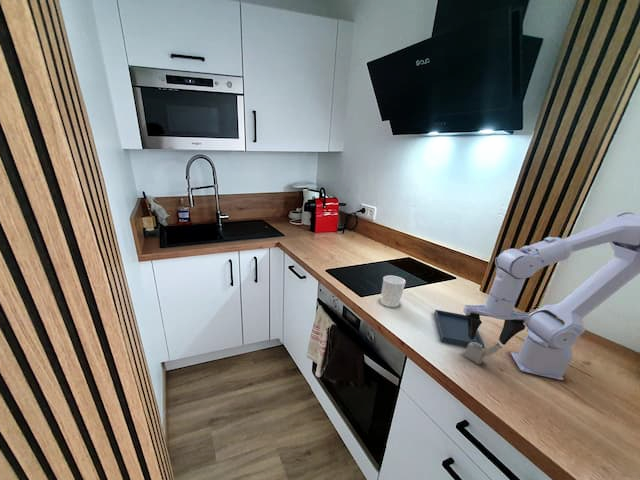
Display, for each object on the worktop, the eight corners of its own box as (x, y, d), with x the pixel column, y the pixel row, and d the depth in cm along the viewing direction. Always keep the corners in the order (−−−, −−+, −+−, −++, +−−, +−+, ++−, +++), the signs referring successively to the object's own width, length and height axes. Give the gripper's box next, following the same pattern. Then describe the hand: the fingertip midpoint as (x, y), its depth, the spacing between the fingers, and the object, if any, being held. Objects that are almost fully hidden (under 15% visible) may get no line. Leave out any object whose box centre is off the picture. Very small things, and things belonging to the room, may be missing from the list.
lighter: (463, 355, 83) (472, 333, 80) (467, 353, 84) (475, 331, 81) (490, 371, 77) (500, 347, 74) (493, 369, 78) (503, 345, 75)
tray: (468, 320, 100) (470, 316, 99) (482, 350, 85) (484, 345, 84) (433, 314, 104) (435, 309, 103) (441, 341, 89) (442, 336, 88)
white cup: (404, 307, 107) (410, 283, 103) (385, 308, 106) (390, 284, 102) (393, 297, 114) (398, 274, 110) (375, 298, 113) (379, 275, 109)
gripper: (527, 292, 74) (509, 335, 80) (466, 285, 77) (452, 327, 83) (543, 306, 68) (522, 351, 73) (475, 297, 71) (460, 341, 76)
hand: (485, 339), depth 78 cm, fingers open, 7 cm apart
